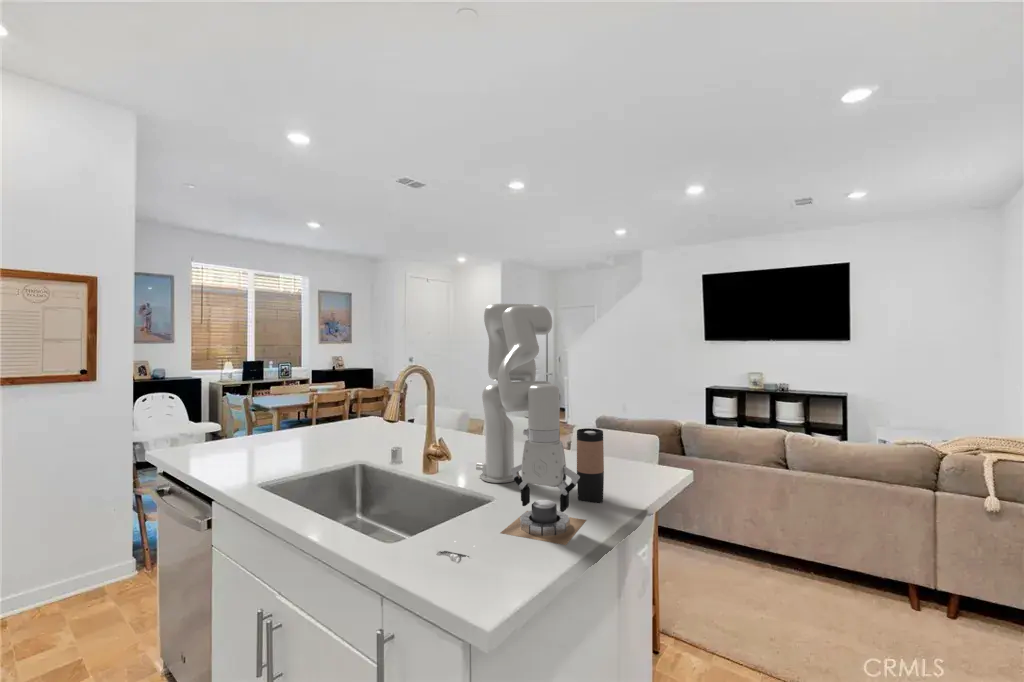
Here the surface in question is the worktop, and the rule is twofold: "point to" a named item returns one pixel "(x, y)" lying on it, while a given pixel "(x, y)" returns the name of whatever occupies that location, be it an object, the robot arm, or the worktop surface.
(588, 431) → the travel mug
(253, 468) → the worktop surface
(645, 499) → the worktop surface
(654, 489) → the worktop surface
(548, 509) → the cap
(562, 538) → the board
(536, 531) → the grey segmented ring
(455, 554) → the acanthus leaf ornament
